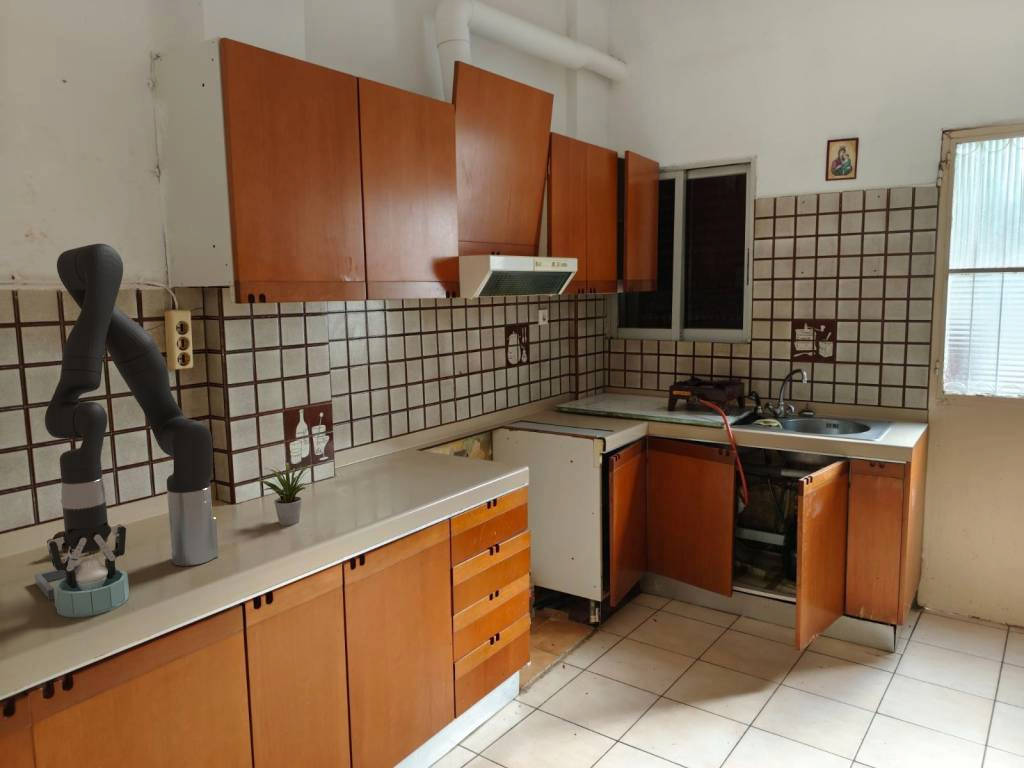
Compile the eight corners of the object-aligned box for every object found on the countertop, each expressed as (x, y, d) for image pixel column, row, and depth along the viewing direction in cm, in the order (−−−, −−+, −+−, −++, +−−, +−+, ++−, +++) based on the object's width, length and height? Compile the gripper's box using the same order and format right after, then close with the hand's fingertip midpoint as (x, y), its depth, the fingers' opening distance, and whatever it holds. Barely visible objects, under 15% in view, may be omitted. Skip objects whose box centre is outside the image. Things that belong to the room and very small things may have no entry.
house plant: (300, 509, 212) (297, 453, 210) (329, 519, 203) (326, 460, 200) (254, 521, 201) (251, 462, 199) (282, 532, 192) (279, 471, 190)
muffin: (73, 588, 151) (70, 555, 150) (107, 581, 154) (105, 549, 153) (75, 599, 146) (72, 564, 145) (110, 591, 149) (108, 558, 148)
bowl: (117, 585, 159) (115, 563, 158) (136, 603, 150) (134, 580, 149) (50, 603, 151) (47, 580, 150) (66, 623, 142) (63, 598, 141)
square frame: (96, 568, 169) (96, 559, 169) (112, 583, 161) (112, 574, 160) (35, 583, 161) (34, 574, 161) (49, 599, 152) (48, 590, 152)
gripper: (47, 513, 140) (55, 598, 142) (129, 498, 150) (136, 577, 152) (37, 505, 145) (46, 587, 148) (117, 490, 155) (124, 567, 157)
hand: (91, 582), depth 150 cm, fingers closed on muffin, 6 cm apart
